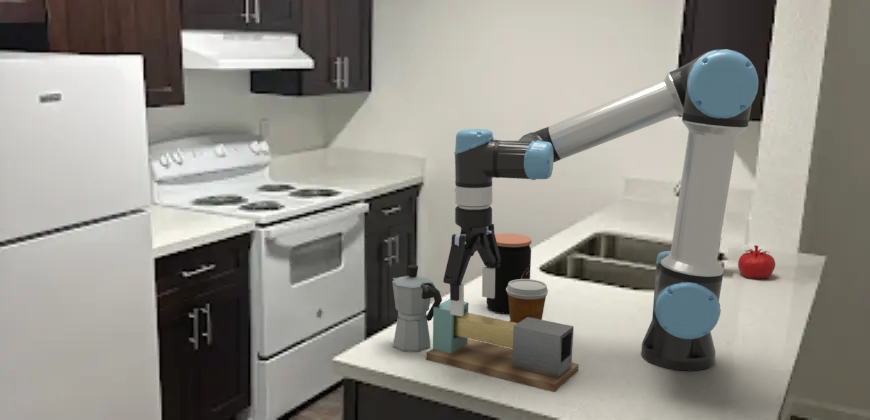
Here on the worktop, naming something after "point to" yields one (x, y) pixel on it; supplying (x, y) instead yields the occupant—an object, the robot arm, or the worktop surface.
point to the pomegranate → (756, 264)
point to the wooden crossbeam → (484, 329)
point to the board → (496, 364)
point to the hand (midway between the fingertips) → (473, 306)
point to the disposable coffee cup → (526, 299)
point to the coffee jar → (510, 267)
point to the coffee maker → (413, 310)
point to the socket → (446, 329)
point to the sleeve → (542, 347)
